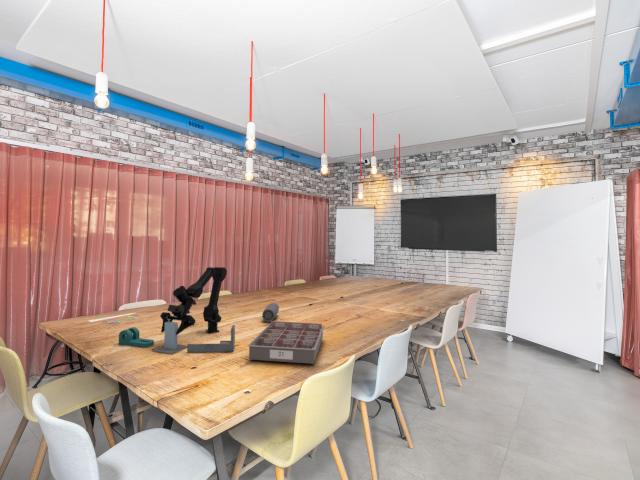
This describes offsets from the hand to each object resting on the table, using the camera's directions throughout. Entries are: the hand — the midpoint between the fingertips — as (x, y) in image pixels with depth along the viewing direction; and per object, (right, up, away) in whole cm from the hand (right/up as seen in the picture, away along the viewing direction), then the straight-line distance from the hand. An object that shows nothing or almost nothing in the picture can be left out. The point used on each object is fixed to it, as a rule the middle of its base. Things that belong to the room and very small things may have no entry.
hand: (169, 333), depth 168 cm
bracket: (-20, -8, +8) cm, 23 cm away
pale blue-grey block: (0, -8, +1) cm, 8 cm away
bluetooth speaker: (+42, -9, +67) cm, 79 cm away
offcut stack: (+28, -9, +2) cm, 29 cm away
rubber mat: (0, -9, +1) cm, 9 cm away
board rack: (+21, -9, +1) cm, 23 cm away
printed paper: (-55, -7, +54) cm, 78 cm away
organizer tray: (+60, -10, +5) cm, 61 cm away
